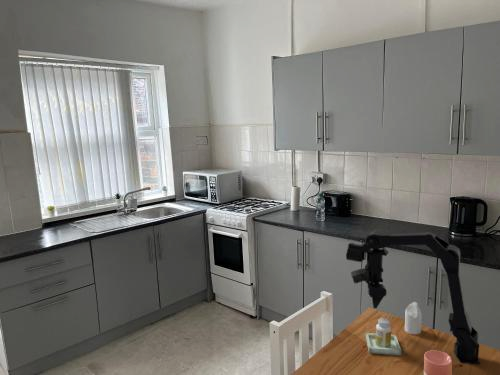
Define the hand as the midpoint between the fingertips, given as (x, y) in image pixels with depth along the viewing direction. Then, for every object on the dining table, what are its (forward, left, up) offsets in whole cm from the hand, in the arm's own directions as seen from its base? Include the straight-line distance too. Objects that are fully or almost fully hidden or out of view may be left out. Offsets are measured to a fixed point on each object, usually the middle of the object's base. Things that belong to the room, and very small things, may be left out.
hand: (373, 302), depth 147 cm
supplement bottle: (-3, +9, -13) cm, 15 cm away
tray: (-3, +9, -13) cm, 16 cm away
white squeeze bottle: (-16, -4, -13) cm, 21 cm away
